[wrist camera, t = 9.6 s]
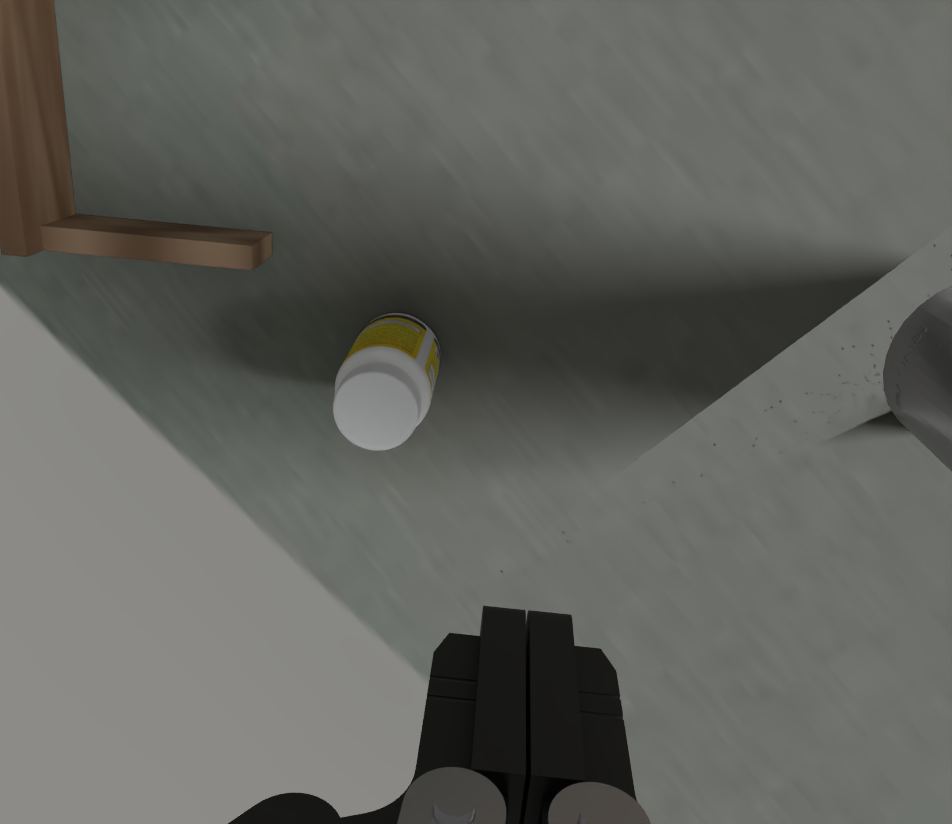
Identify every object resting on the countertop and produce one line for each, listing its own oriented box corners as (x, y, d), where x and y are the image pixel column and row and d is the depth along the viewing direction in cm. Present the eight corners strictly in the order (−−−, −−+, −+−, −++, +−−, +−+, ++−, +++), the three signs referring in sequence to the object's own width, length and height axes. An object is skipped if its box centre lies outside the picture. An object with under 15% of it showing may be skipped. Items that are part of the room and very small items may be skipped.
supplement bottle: (338, 341, 46) (302, 398, 38) (406, 294, 44) (383, 342, 37) (391, 408, 47) (366, 476, 39) (458, 364, 46) (446, 425, 38)
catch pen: (268, -54, 38) (234, -70, 34) (272, 255, 44) (243, 277, 39) (20, -76, 38) (-48, -95, 34) (55, 234, 44) (1, 254, 39)
